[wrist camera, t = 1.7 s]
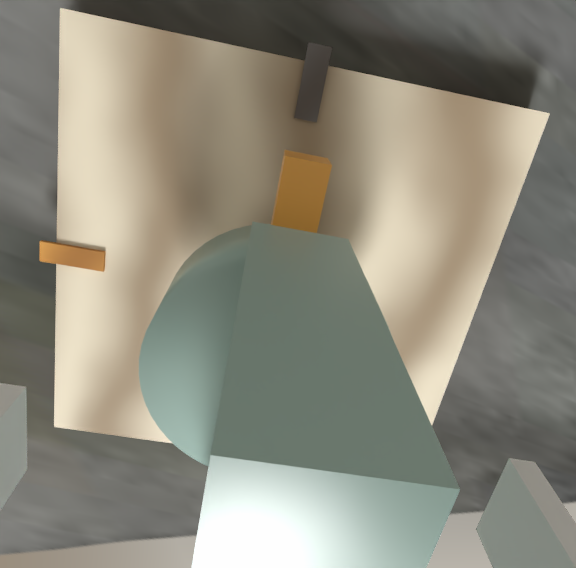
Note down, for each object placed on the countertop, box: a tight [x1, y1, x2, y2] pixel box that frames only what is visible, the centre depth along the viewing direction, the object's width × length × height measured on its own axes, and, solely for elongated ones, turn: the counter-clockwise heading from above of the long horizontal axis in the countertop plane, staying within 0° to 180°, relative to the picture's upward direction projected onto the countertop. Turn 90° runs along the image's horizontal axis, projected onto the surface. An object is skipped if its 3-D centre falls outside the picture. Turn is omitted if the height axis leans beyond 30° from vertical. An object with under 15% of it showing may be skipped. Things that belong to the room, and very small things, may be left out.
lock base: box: [40, 8, 550, 443], centre depth 23 cm, size 22×22×6 cm
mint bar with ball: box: [139, 150, 460, 568], centre depth 14 cm, size 9×13×14 cm
